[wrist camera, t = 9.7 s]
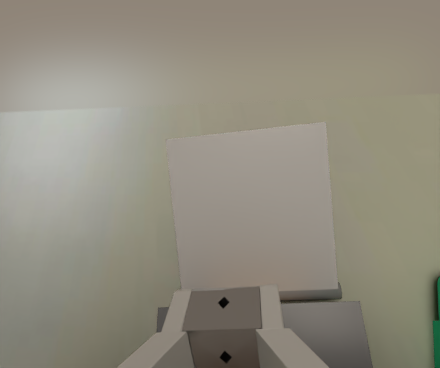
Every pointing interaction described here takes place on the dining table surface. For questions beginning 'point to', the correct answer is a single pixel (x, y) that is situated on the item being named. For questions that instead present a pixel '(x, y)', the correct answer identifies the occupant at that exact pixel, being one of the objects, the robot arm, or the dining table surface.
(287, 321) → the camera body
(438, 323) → the camera mount
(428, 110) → the dining table surface
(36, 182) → the dining table surface
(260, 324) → the robot arm
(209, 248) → the side door
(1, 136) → the dining table surface
